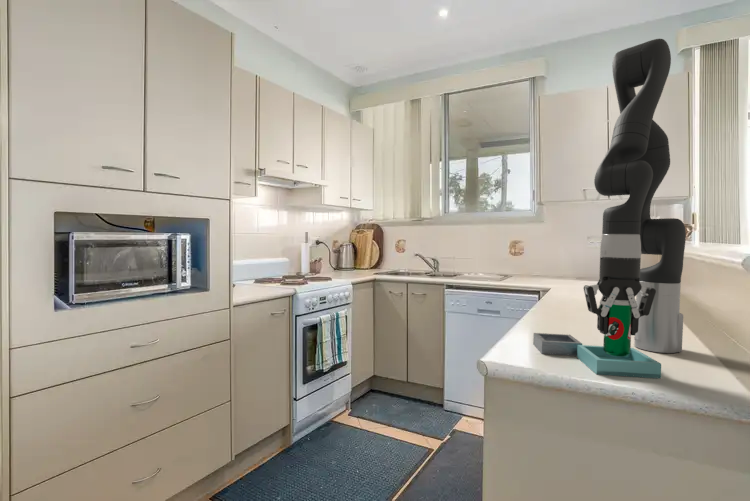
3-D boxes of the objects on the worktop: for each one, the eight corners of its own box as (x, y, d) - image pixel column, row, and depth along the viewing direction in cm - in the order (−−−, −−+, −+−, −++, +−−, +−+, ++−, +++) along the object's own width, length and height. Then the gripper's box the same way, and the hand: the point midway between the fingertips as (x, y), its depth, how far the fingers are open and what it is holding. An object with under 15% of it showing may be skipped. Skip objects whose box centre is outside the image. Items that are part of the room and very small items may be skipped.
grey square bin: (569, 346, 106) (570, 334, 106) (581, 356, 97) (582, 343, 97) (533, 344, 107) (533, 332, 107) (541, 353, 99) (542, 341, 98)
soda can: (634, 358, 86) (636, 301, 86) (607, 356, 87) (610, 300, 87) (624, 351, 91) (626, 297, 91) (599, 350, 92) (601, 296, 92)
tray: (632, 360, 94) (633, 347, 94) (660, 378, 82) (661, 363, 82) (577, 357, 96) (577, 344, 96) (596, 374, 84) (597, 359, 84)
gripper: (647, 255, 91) (644, 331, 92) (578, 254, 93) (576, 328, 94) (666, 257, 84) (662, 340, 84) (590, 255, 86) (588, 336, 86)
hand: (617, 333), depth 89 cm, fingers closed on soda can, 5 cm apart
